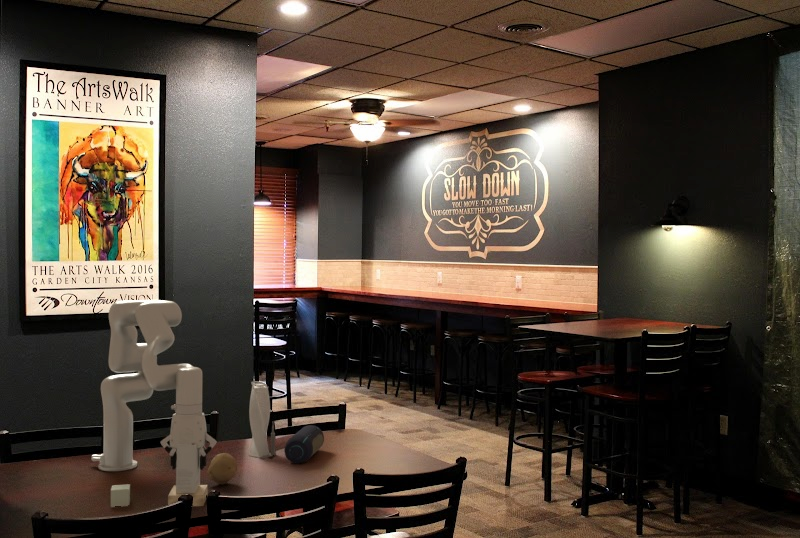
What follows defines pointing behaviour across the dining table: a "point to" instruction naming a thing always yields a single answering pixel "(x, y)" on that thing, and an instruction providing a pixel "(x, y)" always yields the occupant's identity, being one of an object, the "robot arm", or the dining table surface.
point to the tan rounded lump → (222, 468)
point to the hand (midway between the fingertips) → (188, 468)
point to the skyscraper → (260, 421)
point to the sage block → (120, 495)
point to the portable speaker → (304, 444)
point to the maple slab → (197, 497)
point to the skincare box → (187, 468)
